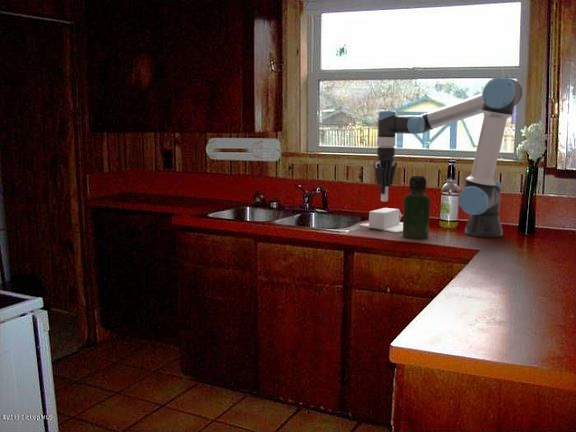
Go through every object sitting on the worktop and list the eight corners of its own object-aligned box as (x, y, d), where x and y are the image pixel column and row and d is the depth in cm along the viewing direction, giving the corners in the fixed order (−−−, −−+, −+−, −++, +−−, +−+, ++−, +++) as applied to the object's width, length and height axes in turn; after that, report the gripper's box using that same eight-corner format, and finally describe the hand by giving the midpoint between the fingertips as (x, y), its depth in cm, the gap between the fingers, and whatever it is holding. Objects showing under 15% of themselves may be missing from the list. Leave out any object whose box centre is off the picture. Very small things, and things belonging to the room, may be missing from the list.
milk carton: (368, 227, 275) (388, 221, 290) (382, 229, 271) (402, 223, 286) (368, 211, 274) (389, 206, 289) (383, 213, 270) (403, 208, 285)
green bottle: (429, 235, 262) (432, 175, 258) (426, 240, 252) (429, 178, 248) (404, 233, 265) (407, 174, 261) (400, 238, 255) (403, 177, 251)
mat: (426, 228, 278) (426, 226, 278) (397, 233, 266) (397, 231, 266) (388, 221, 295) (388, 220, 295) (359, 225, 283) (359, 224, 283)
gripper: (389, 146, 276) (387, 199, 280) (369, 146, 268) (367, 201, 272) (402, 146, 271) (400, 200, 274) (382, 147, 262) (380, 203, 266)
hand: (384, 201), depth 273 cm, fingers closed
